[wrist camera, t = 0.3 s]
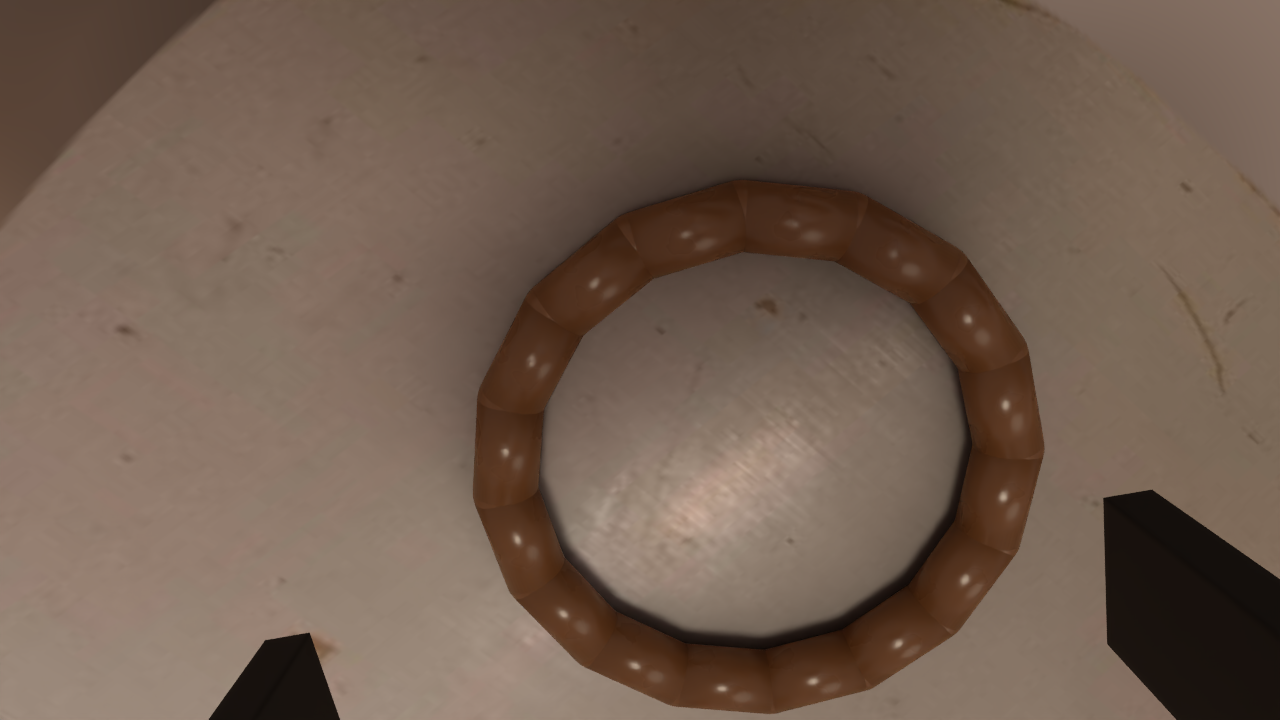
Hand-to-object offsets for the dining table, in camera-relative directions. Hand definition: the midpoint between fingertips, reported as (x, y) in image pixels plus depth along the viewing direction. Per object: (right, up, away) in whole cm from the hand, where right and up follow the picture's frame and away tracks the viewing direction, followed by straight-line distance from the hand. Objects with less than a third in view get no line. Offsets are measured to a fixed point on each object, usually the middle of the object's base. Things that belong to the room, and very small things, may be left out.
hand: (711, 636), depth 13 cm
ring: (+3, 0, +17) cm, 17 cm away
